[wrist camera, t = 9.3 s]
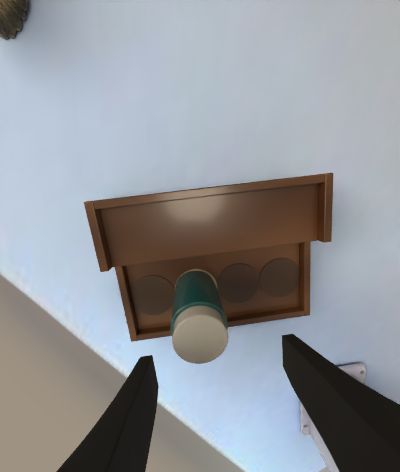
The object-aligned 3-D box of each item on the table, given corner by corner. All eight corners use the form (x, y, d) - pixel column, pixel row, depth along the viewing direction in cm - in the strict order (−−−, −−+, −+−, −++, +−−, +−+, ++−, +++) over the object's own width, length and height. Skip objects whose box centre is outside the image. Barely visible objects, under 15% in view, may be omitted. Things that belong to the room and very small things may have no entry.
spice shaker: (217, 304, 18) (233, 362, 12) (178, 310, 18) (173, 371, 12) (213, 267, 18) (229, 308, 11) (172, 273, 18) (164, 317, 11)
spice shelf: (295, 300, 21) (328, 333, 16) (138, 323, 21) (122, 364, 16) (293, 178, 19) (333, 172, 14) (112, 200, 18) (83, 201, 13)
